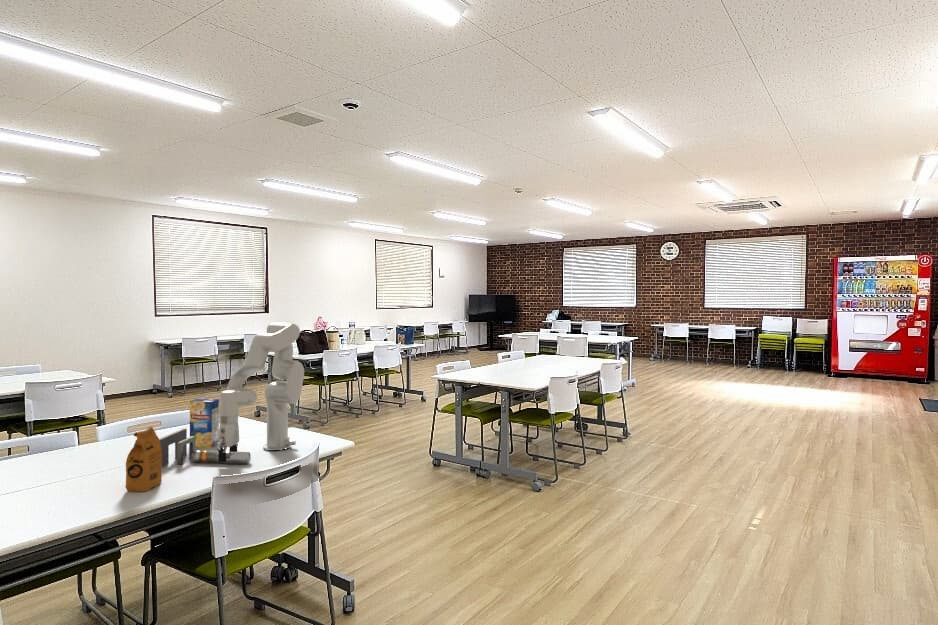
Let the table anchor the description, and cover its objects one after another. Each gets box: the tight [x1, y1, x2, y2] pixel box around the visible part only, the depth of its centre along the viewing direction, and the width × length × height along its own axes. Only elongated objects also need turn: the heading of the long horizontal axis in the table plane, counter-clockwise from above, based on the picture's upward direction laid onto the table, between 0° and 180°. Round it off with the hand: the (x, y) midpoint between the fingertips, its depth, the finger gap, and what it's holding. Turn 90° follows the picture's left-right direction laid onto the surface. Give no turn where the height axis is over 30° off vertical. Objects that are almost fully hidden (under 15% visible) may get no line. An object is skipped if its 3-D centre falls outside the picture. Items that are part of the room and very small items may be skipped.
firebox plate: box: [158, 427, 188, 468], centre depth 244 cm, size 2×20×12 cm, turn 177°
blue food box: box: [189, 398, 220, 448], centre depth 270 cm, size 7×11×22 cm, turn 86°
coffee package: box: [125, 426, 163, 493], centre depth 212 cm, size 10×12×22 cm
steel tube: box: [190, 449, 252, 465], centre depth 243 cm, size 24×5×5 cm, turn 87°
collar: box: [176, 436, 196, 466], centre depth 244 cm, size 2×11×10 cm, turn 177°
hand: (227, 458), depth 242 cm, fingers open, 9 cm apart
